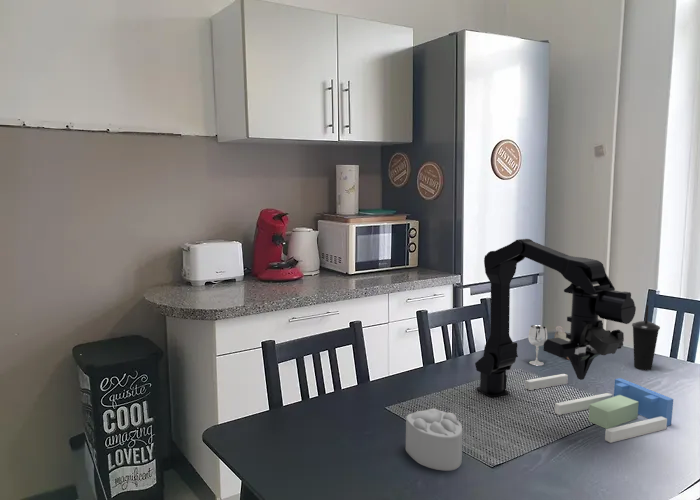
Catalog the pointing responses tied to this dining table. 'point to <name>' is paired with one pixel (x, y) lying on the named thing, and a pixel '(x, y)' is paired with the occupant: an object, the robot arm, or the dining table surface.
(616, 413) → the plug block
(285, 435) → the dining table surface
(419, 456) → the lumpy-topped squat cylinder
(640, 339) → the drinking cup
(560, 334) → the decorative bird
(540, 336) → the wineglass
